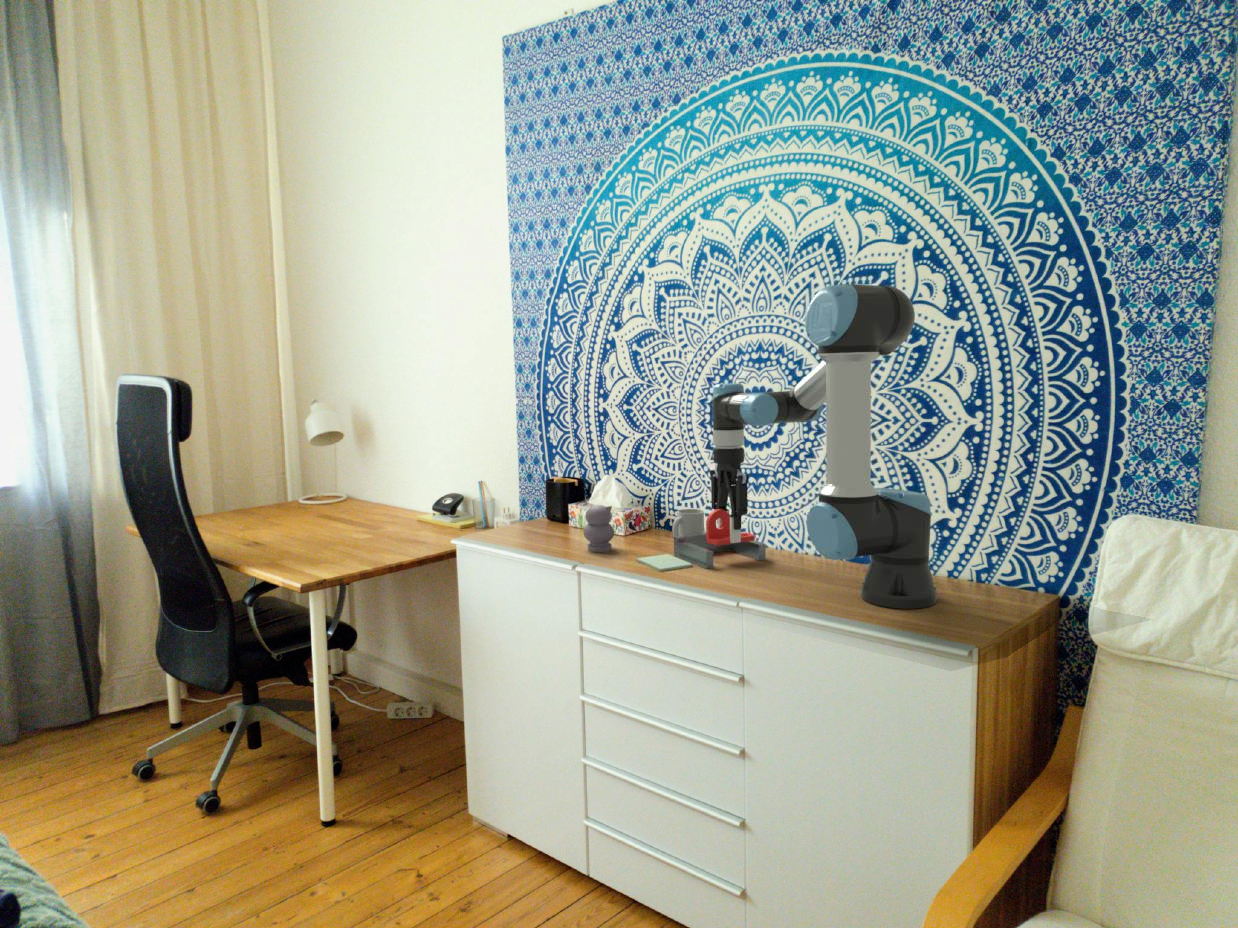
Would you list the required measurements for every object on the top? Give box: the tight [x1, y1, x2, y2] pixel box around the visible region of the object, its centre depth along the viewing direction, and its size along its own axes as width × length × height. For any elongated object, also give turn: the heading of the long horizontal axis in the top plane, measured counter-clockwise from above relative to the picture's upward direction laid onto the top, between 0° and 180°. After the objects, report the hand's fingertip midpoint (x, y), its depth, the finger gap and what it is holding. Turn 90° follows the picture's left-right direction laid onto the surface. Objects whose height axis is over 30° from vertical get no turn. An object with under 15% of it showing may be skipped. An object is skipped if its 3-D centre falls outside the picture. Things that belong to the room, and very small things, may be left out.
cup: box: [672, 508, 705, 538], centre depth 237 cm, size 7×10×9 cm
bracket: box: [705, 509, 756, 546], centre depth 218 cm, size 12×4×8 cm, turn 118°
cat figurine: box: [583, 503, 615, 553], centre depth 233 cm, size 8×8×12 cm
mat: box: [636, 553, 694, 572], centre depth 217 cm, size 12×9×1 cm
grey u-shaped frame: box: [673, 532, 767, 569], centre depth 224 cm, size 20×18×5 cm
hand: (729, 540), depth 218 cm, fingers closed on bracket, 4 cm apart
